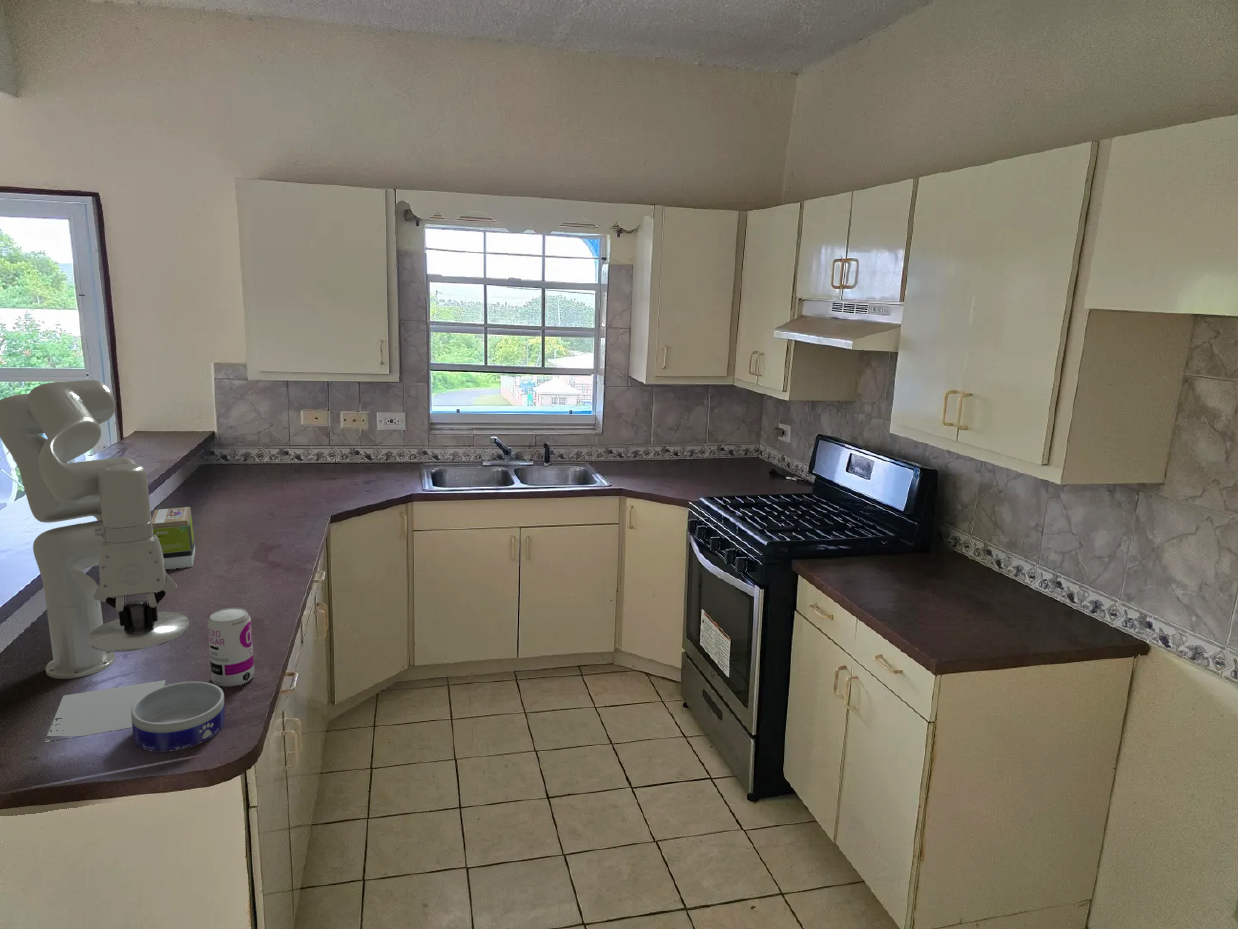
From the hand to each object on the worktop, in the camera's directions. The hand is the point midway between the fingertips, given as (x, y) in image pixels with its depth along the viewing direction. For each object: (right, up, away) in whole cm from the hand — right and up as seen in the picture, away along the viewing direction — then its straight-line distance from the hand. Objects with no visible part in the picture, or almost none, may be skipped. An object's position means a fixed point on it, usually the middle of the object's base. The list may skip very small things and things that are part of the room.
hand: (139, 626), depth 148 cm
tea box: (-43, +1, +89) cm, 99 cm away
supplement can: (+7, -16, +22) cm, 28 cm away
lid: (0, -1, 0) cm, 1 cm away
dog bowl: (+6, -20, +2) cm, 21 cm away
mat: (-11, -18, +8) cm, 23 cm away
